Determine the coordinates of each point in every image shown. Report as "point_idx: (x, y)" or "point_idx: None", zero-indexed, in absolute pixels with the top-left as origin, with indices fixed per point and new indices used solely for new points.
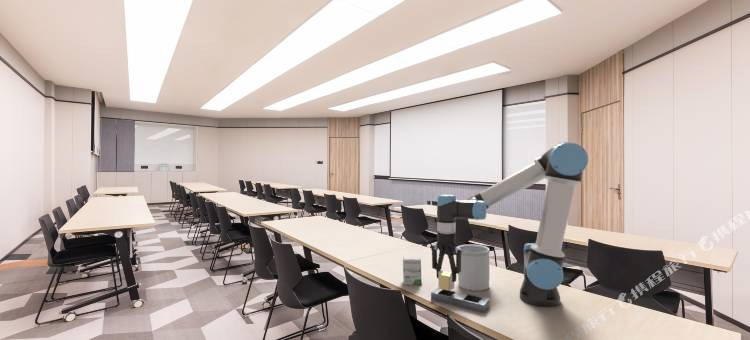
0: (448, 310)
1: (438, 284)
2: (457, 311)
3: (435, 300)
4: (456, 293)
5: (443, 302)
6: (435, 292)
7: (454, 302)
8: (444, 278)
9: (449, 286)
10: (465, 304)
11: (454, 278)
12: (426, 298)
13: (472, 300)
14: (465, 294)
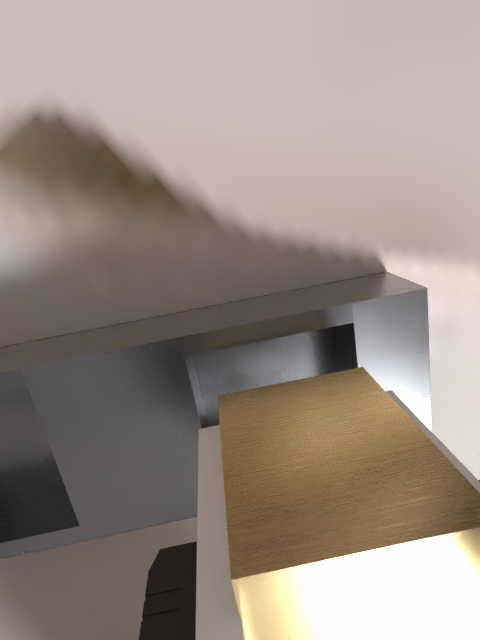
0: (107, 180)
1: (408, 408)
2: (28, 228)
3: (340, 282)
4: (190, 468)
5: (253, 298)
6: (386, 328)
7: (129, 330)
8: (335, 493)
9: (221, 437)
10: (2, 359)
11: (155, 612)
12: (438, 265)
13: (51, 498)
14: (103, 511)
